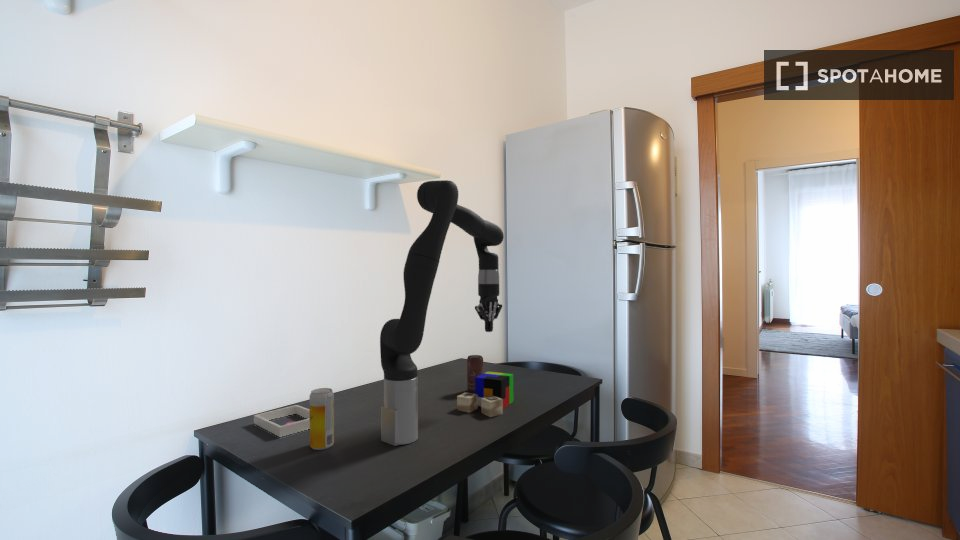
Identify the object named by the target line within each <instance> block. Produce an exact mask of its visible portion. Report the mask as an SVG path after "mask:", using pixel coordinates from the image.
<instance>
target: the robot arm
mask: <svg viewBox="0 0 960 540" xmlns="http://www.w3.org/2000/svg"><path fill="white" fill-rule="evenodd" d="M416 199H417V202H418V204H419V206H420V207H421V208H422V210H424V211H426V212H428V213H431V214H432V216H431V218H430V220H429V223H428V224H427V226H426V228H424V230H423V231H422V232H421V233H420V234H419V235H418V236H417V238H416V239H415V240H414V241H413V243H412V244H411V246H410V247H409V250H408V252H407V256H406V260H405V263H404V267H403V274H402V275H403V286H404V302H403V307H402V311H401V314H400V317H399V318H391V319H389V320H388V321H386V322H385V323H384V324H383V326H382V328H381V330H380V335H379V348H380V349H379V350H380V352H379V353H380V365H381V368H382V371H383V405H382V406H381V407H380V428H381V429H380V434H381V435H380V439H381V442H384V443H386V444H388V445H391V446H393V447H397V446H400V445H408V444H411V443H414V442H416V441H417V440H418V439H419V435H418V434H419V416H418V415H419V410H418V409H419V408H418V407H419V405H418V404H419V403H418V402H419V401H418V396H419V395H418V393H419V392H418V390H419V388H418V387H419V385H418V384H419V383H418V381H419V380H418V378H419V377H418V376H419V375H418V372H419V371H418V367H417V365H416V363H415V362H414V361H413V358H412V355H411V354H413V353H416V351H417V350H418V349H419V347H420V345H421V344H422V341H423V337H424V332H425V325H426V318H427V313H428V312H427V311H428V307H429V303H430V299H431V295H432V292H433V291H432V290H433V286H434V282H435V279H436V275H437V272H438V270H439V269H438V268H439V265H440V259H441V255H442V251H443V247H444V243H445V241H446V237H447V234H448V231H449V228H450V225H451V224H453V225H455V226H457V227H458V228H459V229H461V230H463V232H465V233H466V234H468V235H469V236H471V237H473V243H474V246H475V248H476V253H477V257H478V275H477V276H478V277H477V282H478V283H477V287H478V288H477V291H478V292H477V295H478V296H479V297H480V298H479V302H478V303H479V304H477V305H475V306H474V310H475V311H476V313H477V316H479V319H480V320H481V321H484V331H485V332H487V333H492V332H493V331H494V321H495V320H496V319H498V317H499V315H500V312H501V310H502V309H503V304H501V303H499V299H498V297H499V296H500V272H499V255H498V253H494V252H491V251H489V249H488V247H496V246H499V245H501V244H502V243H503V241H504V236H505V235H504V232H503V230H502V228H501V227H500V226H499V225H498V224H496V223H494V222H491V221H489V220H487V219H486V220H485V219H484V218H482V217H481V216H480V215H479V214H478V213H476V212H475V211H473V210H471V209H469V208H468V207H465V206H462V205H460V204H458V202H459V189H458V186H457V184H456V183H455V181H453V180H452V181H451V180H443V179H442V180H428V181H424V182H423V183H421V184H420V185H419V187H418V189H417V192H416Z"/></svg>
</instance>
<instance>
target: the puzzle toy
mask: <svg viewBox="0 0 960 540" xmlns="http://www.w3.org/2000/svg"><path fill="white" fill-rule="evenodd" d="M475 394H477V396H478V407H481V398H485V397H490V396H495V397H498V398H501V399H503V409H505V408H506V407H508V406H509V405H511V404H512V403H514V373H508V372H507V373H504V372H495V371H485V372H483V374H481V375H479V376H477V377H475Z"/></svg>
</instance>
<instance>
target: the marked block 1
mask: <svg viewBox="0 0 960 540" xmlns="http://www.w3.org/2000/svg"><path fill="white" fill-rule="evenodd" d="M478 407H479V406H478V396H477V394H473V393H469V392H463V393H461V394H459V395H457V396H456V410H457V411H458V412H459V411H460V412H465V413H472V412H474V411H476V410H478V409H479V408H478Z"/></svg>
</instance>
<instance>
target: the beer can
mask: <svg viewBox="0 0 960 540" xmlns="http://www.w3.org/2000/svg"><path fill="white" fill-rule="evenodd" d="M334 393H335V392H333V389H332V388H329V387H322V388H317V389H316V388H315V389H312V390H311V392H310V394H309V409H310V430H309V447H310V448H311V449H312V450H314V451H324V450H327V449H329V448H331V447H332V446H333V445H334V444H335V395H334Z"/></svg>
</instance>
